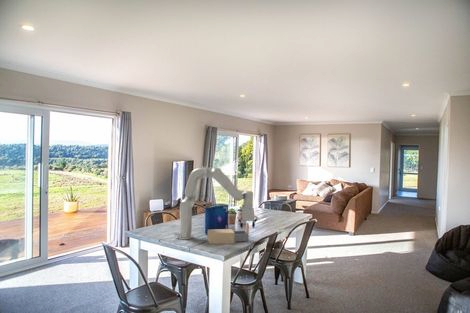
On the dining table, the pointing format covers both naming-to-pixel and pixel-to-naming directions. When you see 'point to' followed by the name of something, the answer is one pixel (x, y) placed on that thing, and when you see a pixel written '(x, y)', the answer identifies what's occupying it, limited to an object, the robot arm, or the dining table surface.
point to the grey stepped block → (242, 234)
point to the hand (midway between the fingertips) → (247, 227)
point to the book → (216, 217)
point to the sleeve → (220, 236)
